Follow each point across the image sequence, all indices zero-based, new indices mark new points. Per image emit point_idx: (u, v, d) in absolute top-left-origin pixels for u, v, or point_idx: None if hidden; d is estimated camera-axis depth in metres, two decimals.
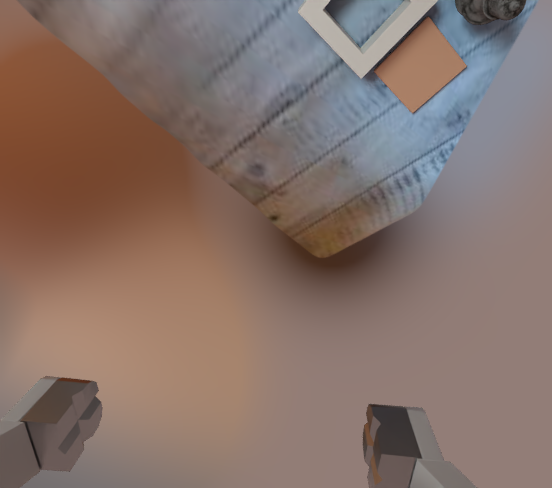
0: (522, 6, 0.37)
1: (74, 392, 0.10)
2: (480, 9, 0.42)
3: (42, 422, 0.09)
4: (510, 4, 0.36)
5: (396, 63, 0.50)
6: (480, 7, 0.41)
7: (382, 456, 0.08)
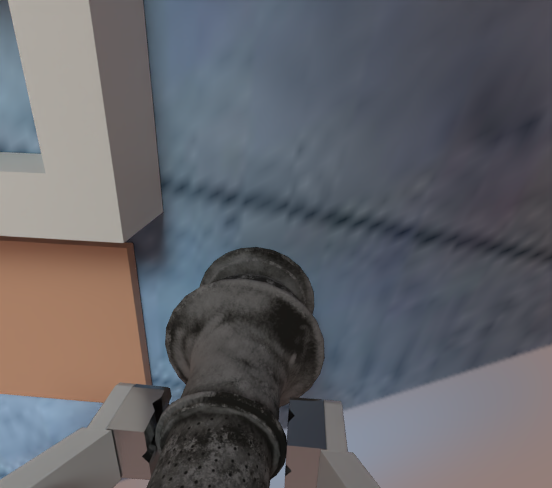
0: None
1: (153, 399, 0.10)
2: None
3: (129, 430, 0.09)
4: None
5: None
6: (187, 380, 0.11)
7: (288, 447, 0.09)
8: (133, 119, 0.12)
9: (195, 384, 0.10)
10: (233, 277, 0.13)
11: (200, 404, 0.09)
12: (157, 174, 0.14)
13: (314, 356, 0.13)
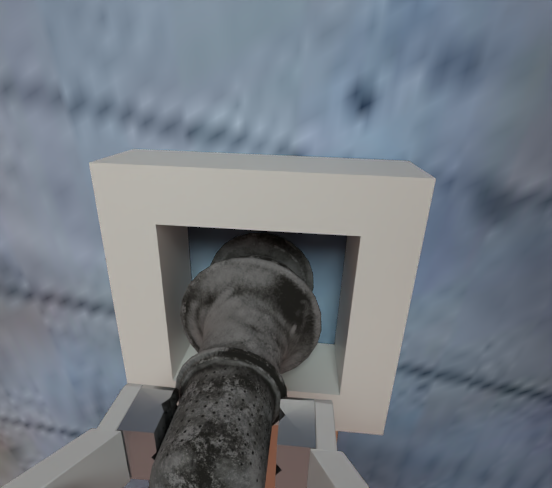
0: None
1: (162, 400, 0.10)
2: None
3: (139, 431, 0.09)
4: None
5: None
6: None
7: (278, 446, 0.09)
8: None
9: (210, 344, 0.11)
10: (242, 257, 0.14)
11: (216, 357, 0.10)
12: None
13: (312, 328, 0.14)
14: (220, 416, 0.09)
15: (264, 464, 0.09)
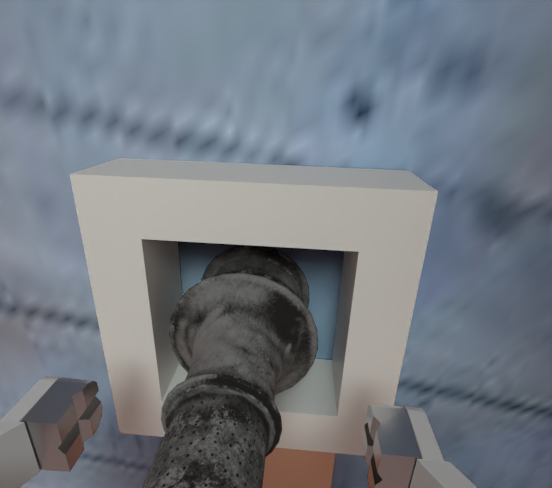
0: None
1: (74, 392, 0.10)
2: None
3: (42, 422, 0.09)
4: None
5: None
6: (190, 367, 0.12)
7: (382, 456, 0.08)
8: None
9: (198, 368, 0.11)
10: (233, 272, 0.14)
11: (203, 385, 0.10)
12: None
13: (308, 346, 0.14)
14: (207, 456, 0.08)
15: None
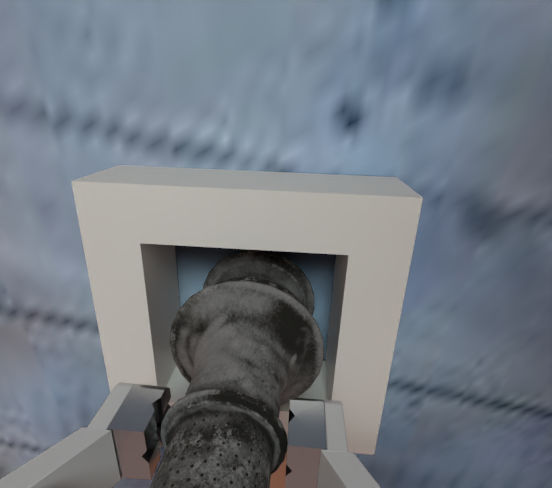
0: None
1: (153, 399, 0.10)
2: None
3: (129, 430, 0.09)
4: None
5: None
6: (191, 378, 0.11)
7: (289, 447, 0.09)
8: None
9: (200, 382, 0.10)
10: (237, 279, 0.13)
11: (205, 402, 0.09)
12: None
13: (314, 357, 0.13)
14: (209, 481, 0.07)
15: None
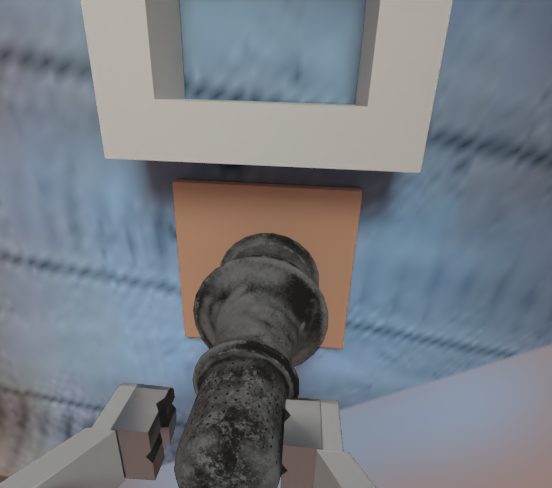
0: None
1: (157, 399, 0.10)
2: None
3: (133, 431, 0.09)
4: None
5: (229, 214, 0.17)
6: (216, 337, 0.13)
7: (284, 447, 0.09)
8: None
9: (226, 337, 0.12)
10: (254, 256, 0.15)
11: (234, 349, 0.11)
12: None
13: (320, 326, 0.15)
14: (242, 404, 0.09)
15: (281, 448, 0.09)
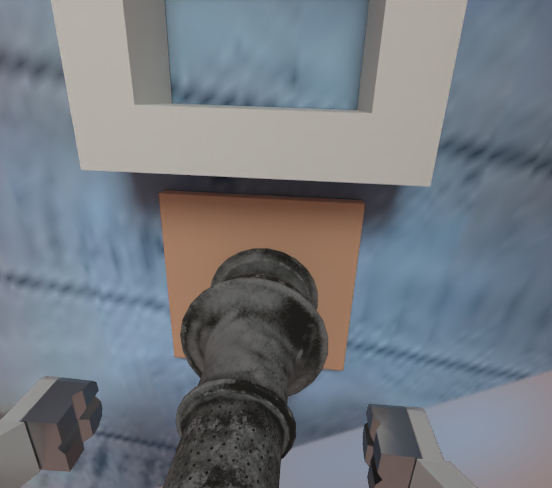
0: None
1: (74, 392, 0.10)
2: None
3: (42, 422, 0.09)
4: None
5: (220, 228, 0.16)
6: (203, 369, 0.12)
7: (382, 456, 0.08)
8: None
9: (214, 372, 0.11)
10: (247, 276, 0.14)
11: (222, 390, 0.10)
12: None
13: (319, 353, 0.14)
14: (228, 462, 0.08)
15: None
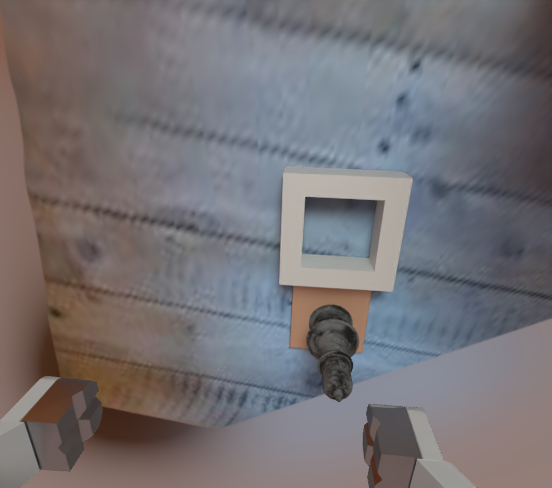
0: (342, 398, 0.33)
1: (74, 392, 0.10)
2: (319, 349, 0.38)
3: (42, 422, 0.09)
4: (336, 390, 0.32)
5: (315, 297, 0.42)
6: (320, 349, 0.38)
7: (382, 456, 0.08)
8: None
9: (328, 349, 0.36)
10: (330, 317, 0.39)
11: (333, 354, 0.35)
12: None
13: (356, 344, 0.39)
14: (340, 369, 0.34)
15: (351, 381, 0.34)
